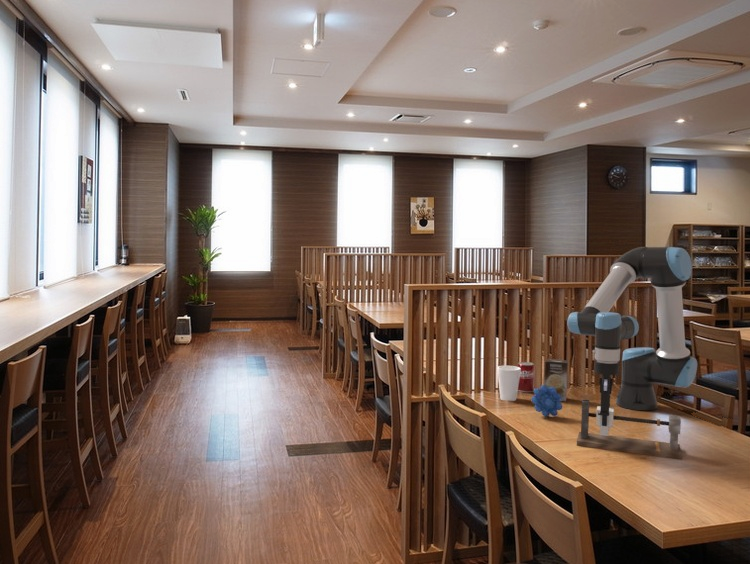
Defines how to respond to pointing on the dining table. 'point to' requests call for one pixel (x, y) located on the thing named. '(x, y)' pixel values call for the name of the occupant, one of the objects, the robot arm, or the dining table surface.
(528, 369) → the soda can
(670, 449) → the sliding block rail
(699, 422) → the dining table surface
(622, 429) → the dining table surface
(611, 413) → the sleeve
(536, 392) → the blue knobbed wheel
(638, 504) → the dining table surface
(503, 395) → the foam cup
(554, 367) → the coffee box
